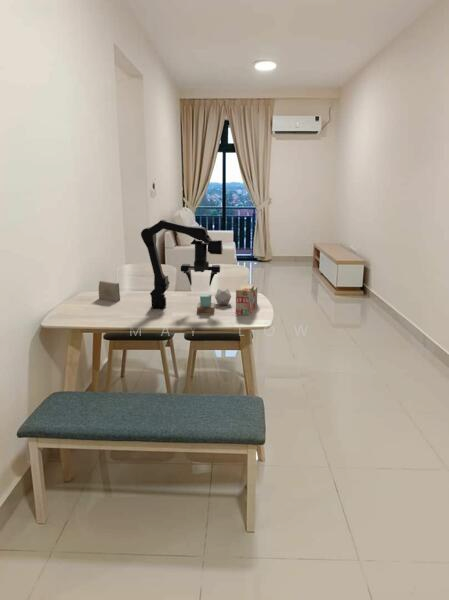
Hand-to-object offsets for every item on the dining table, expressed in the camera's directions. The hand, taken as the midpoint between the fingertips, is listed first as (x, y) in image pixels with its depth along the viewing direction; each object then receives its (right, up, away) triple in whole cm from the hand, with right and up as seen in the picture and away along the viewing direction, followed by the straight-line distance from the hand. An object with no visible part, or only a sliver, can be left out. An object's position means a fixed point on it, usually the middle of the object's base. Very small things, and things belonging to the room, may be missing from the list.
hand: (200, 285), depth 217 cm
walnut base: (+3, -12, -1) cm, 13 cm away
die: (+11, -9, +11) cm, 18 cm away
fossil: (-49, -7, +18) cm, 53 cm away
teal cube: (+3, -9, -2) cm, 10 cm away
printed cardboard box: (+23, -12, +3) cm, 26 cm away
